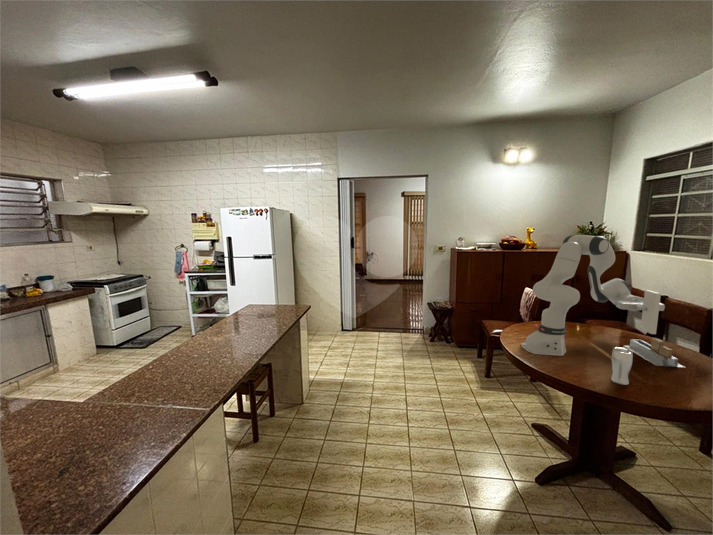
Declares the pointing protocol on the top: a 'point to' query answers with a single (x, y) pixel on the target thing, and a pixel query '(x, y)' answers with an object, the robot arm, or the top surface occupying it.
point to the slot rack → (651, 354)
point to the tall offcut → (656, 344)
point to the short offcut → (665, 351)
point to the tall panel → (650, 311)
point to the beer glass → (621, 365)
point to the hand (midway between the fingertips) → (649, 309)
